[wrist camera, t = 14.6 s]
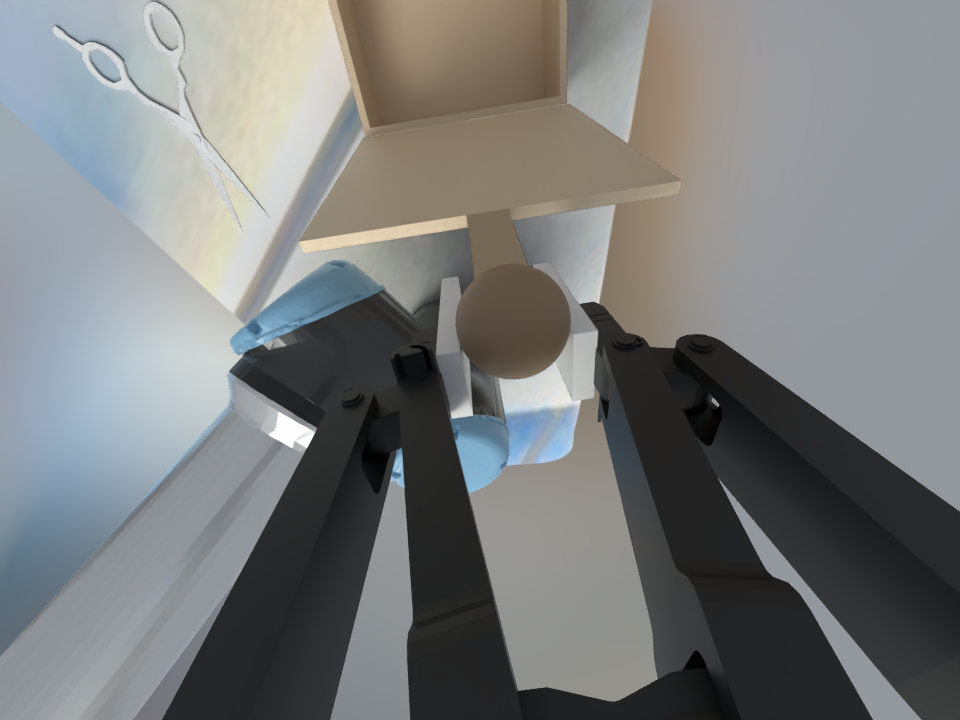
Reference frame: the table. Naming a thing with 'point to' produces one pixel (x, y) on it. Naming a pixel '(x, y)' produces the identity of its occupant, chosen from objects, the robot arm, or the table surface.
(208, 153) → the scissors
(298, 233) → the table surface
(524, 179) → the lid
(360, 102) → the box
